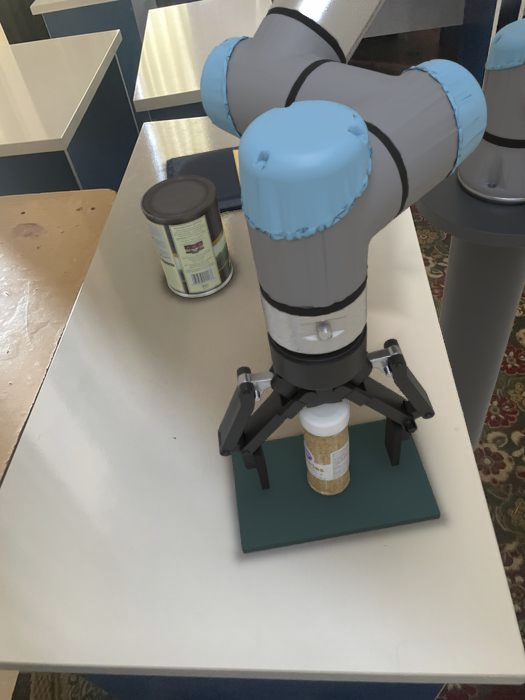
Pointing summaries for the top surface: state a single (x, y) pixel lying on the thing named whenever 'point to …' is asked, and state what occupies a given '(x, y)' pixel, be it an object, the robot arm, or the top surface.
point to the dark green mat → (331, 510)
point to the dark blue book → (213, 173)
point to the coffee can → (188, 234)
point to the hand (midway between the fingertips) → (328, 466)
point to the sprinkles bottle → (327, 446)
